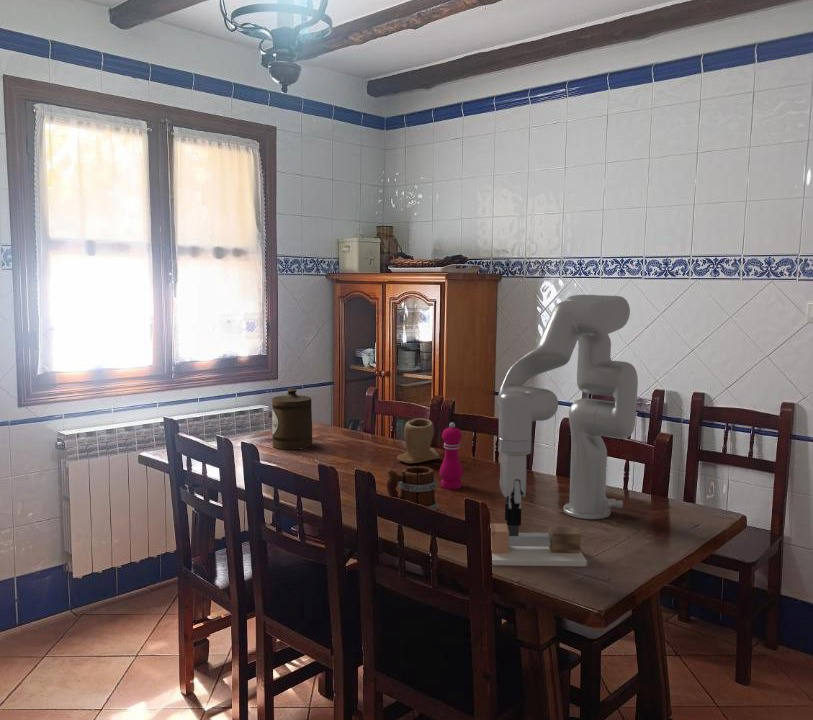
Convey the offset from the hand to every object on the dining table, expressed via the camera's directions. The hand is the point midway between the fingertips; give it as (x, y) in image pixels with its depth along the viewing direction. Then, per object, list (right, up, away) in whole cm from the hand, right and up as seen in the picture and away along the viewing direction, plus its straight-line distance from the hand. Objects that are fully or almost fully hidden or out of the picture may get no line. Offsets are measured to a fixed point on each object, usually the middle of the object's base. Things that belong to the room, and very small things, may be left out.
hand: (512, 522), depth 173 cm
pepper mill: (-11, -1, +56) cm, 57 cm away
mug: (-23, -4, +30) cm, 38 cm away
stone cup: (-20, +2, +85) cm, 88 cm away
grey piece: (+3, -5, +1) cm, 6 cm away
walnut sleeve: (+12, -7, +1) cm, 14 cm away
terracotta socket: (-3, -6, +1) cm, 7 cm away
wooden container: (-68, +5, +107) cm, 127 cm away
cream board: (+5, -8, +1) cm, 9 cm away
